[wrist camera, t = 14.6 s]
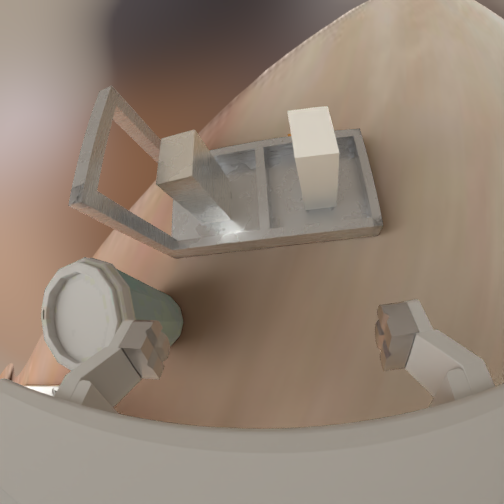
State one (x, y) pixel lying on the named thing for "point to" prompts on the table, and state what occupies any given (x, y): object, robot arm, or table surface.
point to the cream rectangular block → (315, 156)
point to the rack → (226, 189)
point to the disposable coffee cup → (99, 309)
